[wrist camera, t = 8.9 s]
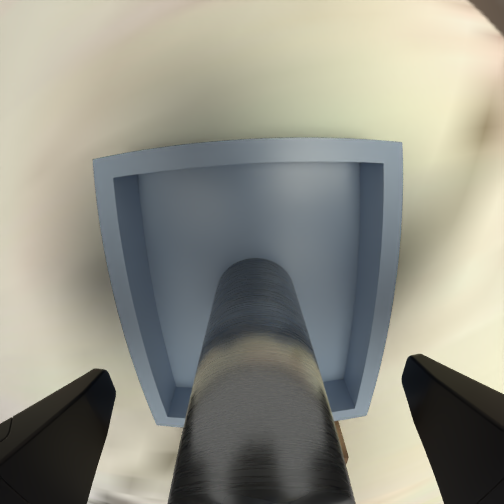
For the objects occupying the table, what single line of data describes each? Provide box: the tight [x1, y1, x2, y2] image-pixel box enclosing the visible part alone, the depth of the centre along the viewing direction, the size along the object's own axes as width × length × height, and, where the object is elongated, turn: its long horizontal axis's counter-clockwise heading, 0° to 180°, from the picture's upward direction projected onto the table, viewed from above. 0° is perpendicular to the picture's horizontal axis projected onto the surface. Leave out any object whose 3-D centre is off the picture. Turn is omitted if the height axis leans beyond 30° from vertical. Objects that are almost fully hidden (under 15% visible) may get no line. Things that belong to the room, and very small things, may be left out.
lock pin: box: [168, 258, 355, 504], centre depth 8 cm, size 4×4×10 cm
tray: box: [93, 138, 403, 427], centre depth 12 cm, size 13×11×3 cm
